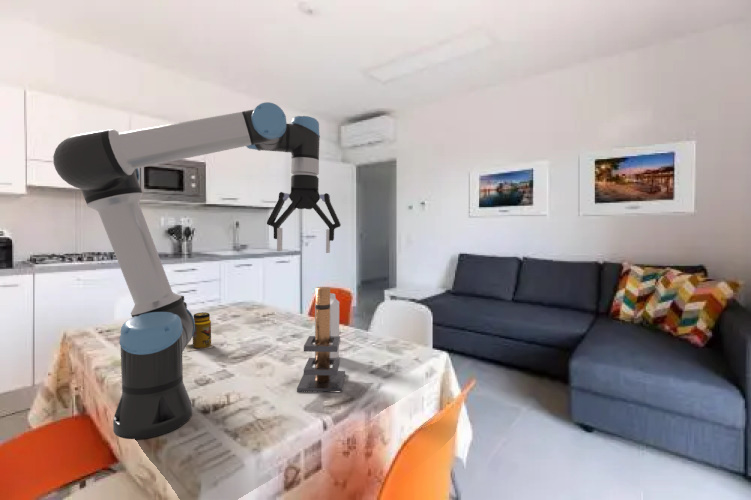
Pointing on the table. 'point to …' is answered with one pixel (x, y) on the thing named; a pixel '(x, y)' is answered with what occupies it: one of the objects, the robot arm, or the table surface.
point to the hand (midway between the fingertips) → (303, 252)
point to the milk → (333, 321)
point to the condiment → (201, 332)
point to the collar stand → (309, 374)
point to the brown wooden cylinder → (322, 330)
